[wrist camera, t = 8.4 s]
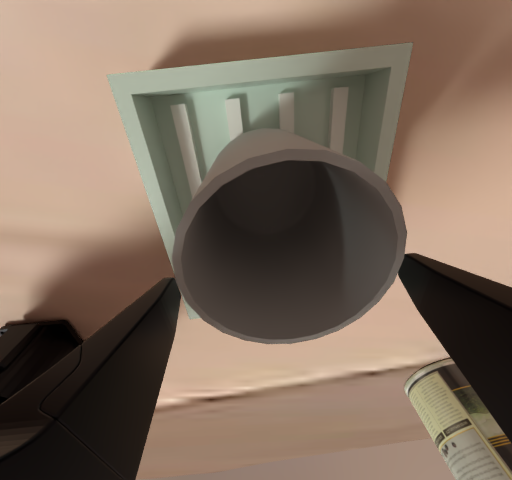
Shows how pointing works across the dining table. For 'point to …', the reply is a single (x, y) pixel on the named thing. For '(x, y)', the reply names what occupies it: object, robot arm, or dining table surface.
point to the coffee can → (460, 423)
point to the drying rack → (256, 115)
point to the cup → (287, 240)
